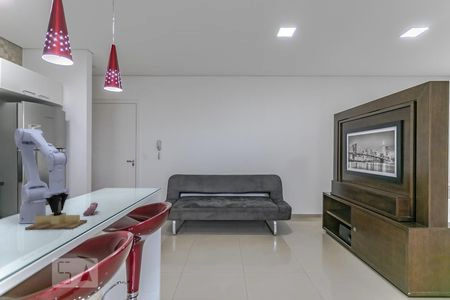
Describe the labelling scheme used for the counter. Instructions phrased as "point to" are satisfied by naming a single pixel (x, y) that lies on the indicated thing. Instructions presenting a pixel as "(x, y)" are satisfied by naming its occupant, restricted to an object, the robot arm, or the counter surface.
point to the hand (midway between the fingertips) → (57, 211)
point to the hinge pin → (58, 208)
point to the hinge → (57, 219)
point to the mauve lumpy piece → (91, 209)
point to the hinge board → (48, 227)
